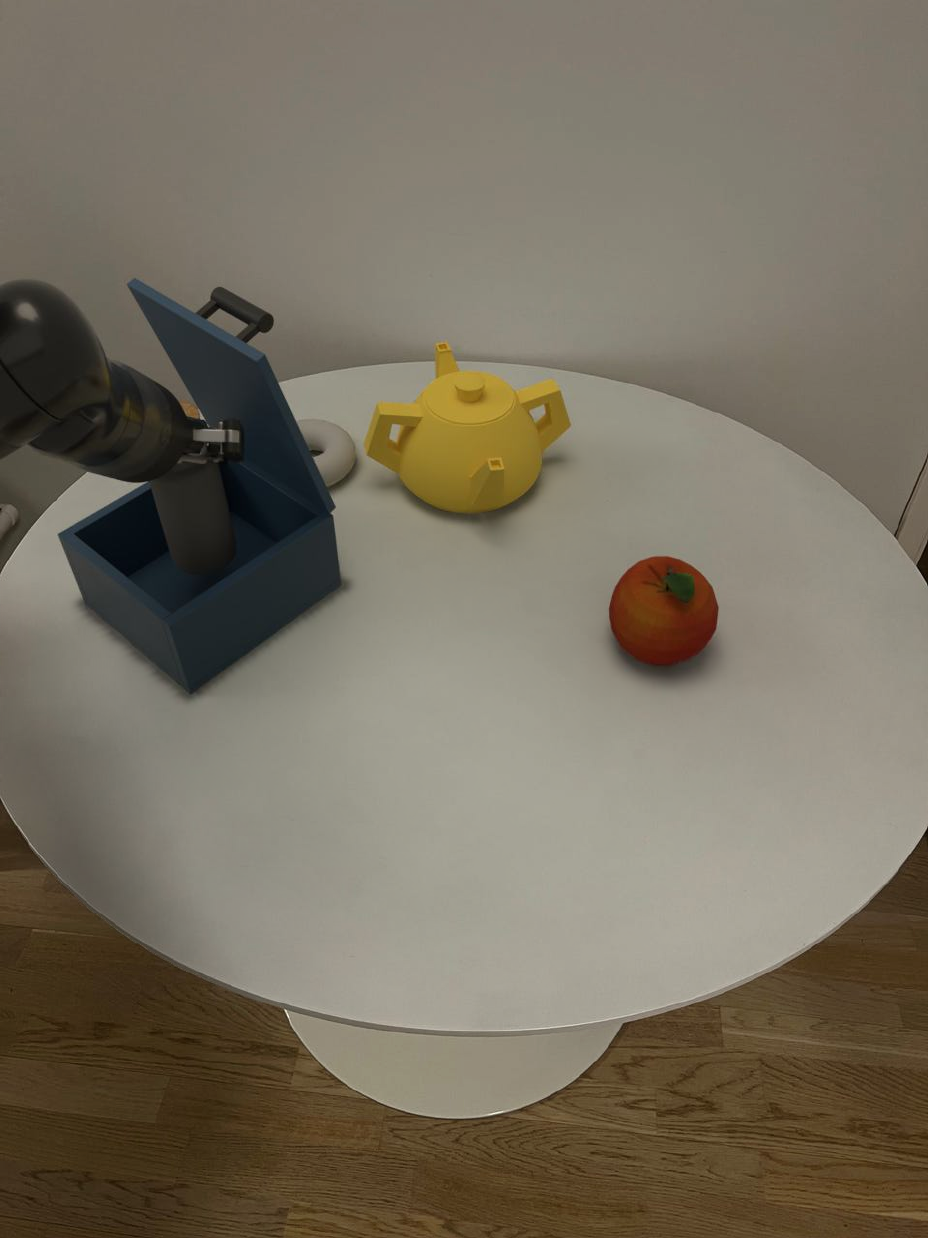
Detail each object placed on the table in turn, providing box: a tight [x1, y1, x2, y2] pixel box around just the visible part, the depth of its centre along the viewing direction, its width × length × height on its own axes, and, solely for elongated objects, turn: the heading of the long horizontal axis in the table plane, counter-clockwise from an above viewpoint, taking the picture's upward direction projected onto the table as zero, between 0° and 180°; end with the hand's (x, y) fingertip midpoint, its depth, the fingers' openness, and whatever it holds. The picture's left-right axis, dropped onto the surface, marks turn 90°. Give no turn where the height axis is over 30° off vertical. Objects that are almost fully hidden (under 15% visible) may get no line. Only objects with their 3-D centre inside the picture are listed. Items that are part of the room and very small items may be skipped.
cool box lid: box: [126, 277, 337, 514], centre depth 86 cm, size 19×16×5 cm
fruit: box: [608, 555, 720, 667], centre depth 88 cm, size 10×10×10 cm
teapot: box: [363, 341, 572, 514], centre depth 103 cm, size 17×17×12 cm
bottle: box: [149, 400, 237, 575], centre depth 86 cm, size 6×6×15 cm
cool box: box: [57, 457, 342, 695], centre depth 92 cm, size 18×16×9 cm
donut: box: [296, 418, 357, 488], centre depth 107 cm, size 10×4×10 cm
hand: (185, 451), depth 85 cm, fingers closed on bottle, 6 cm apart
